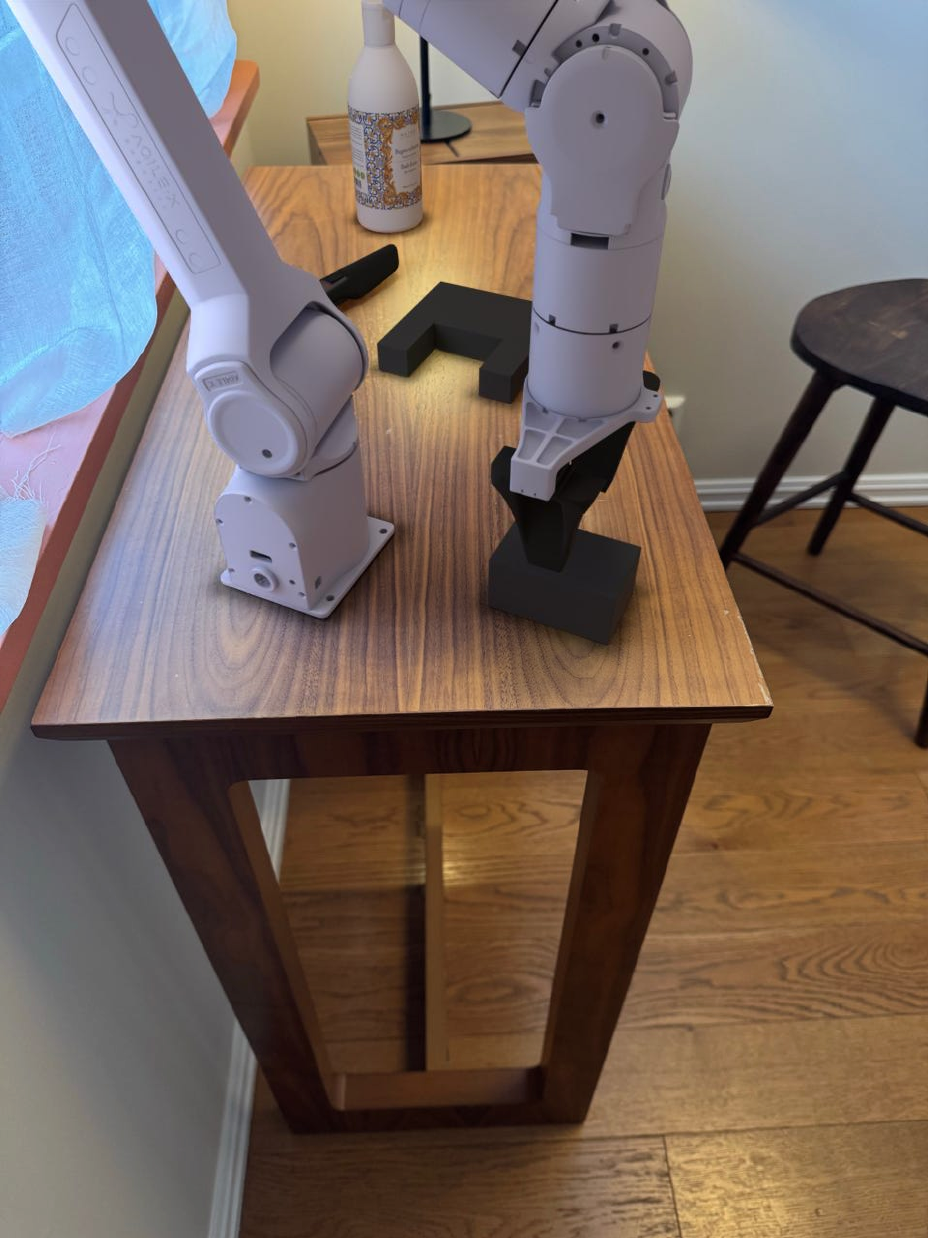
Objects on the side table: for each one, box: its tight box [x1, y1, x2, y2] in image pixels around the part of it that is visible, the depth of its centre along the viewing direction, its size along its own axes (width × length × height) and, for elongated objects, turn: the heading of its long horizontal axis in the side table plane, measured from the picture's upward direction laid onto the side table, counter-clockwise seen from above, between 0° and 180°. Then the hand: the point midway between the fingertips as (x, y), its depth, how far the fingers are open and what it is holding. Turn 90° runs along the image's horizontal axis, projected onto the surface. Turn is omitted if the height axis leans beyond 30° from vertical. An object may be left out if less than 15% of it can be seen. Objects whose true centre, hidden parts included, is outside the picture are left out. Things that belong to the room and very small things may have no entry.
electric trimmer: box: [319, 243, 400, 308], centre depth 83 cm, size 4×16×3 cm, turn 142°
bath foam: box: [346, 0, 424, 234], centre depth 90 cm, size 7×7×20 cm
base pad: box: [376, 280, 532, 404], centre depth 78 cm, size 12×12×2 cm
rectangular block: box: [487, 520, 642, 646], centre depth 56 cm, size 8×5×4 cm, turn 65°
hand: (569, 523), depth 53 cm, fingers open, 7 cm apart
